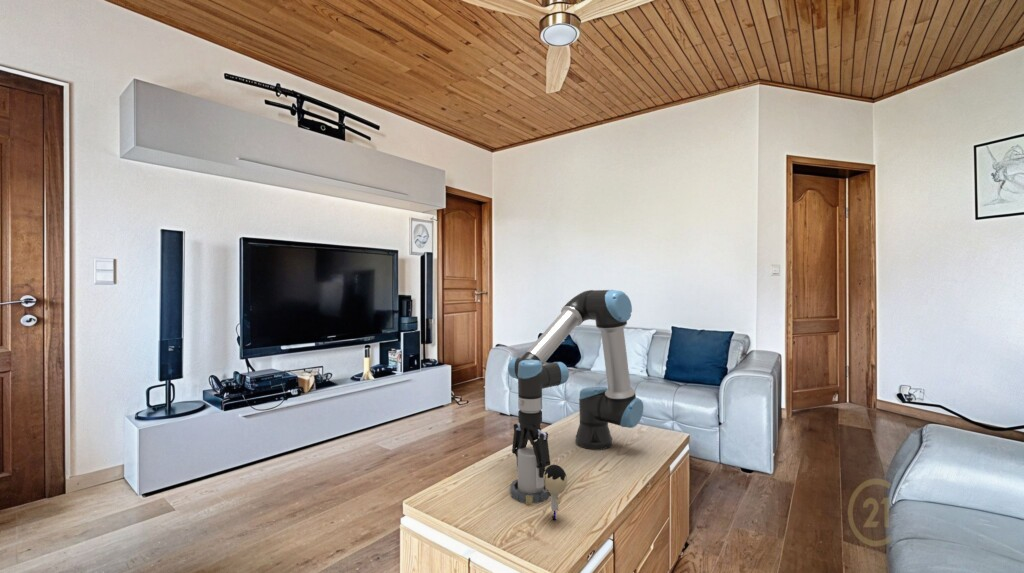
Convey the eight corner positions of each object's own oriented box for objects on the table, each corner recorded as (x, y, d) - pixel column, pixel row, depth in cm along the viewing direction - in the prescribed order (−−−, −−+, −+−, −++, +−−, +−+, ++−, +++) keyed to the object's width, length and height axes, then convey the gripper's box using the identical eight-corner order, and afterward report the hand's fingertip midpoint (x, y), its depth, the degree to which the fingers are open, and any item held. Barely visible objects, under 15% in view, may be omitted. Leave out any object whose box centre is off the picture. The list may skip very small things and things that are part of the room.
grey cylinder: (545, 484, 140) (545, 447, 140) (541, 496, 132) (541, 457, 132) (520, 482, 142) (520, 445, 142) (515, 494, 134) (515, 455, 134)
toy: (541, 512, 126) (541, 460, 126) (563, 510, 126) (563, 459, 126) (546, 528, 117) (545, 472, 117) (570, 527, 118) (569, 471, 118)
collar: (531, 481, 146) (531, 474, 146) (558, 494, 136) (558, 486, 136) (502, 492, 138) (502, 484, 138) (528, 507, 128) (528, 499, 128)
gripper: (500, 405, 143) (500, 474, 143) (544, 419, 127) (544, 498, 127) (517, 401, 148) (518, 468, 147) (562, 415, 131) (562, 490, 131)
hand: (530, 482), depth 137 cm, fingers closed on grey cylinder, 8 cm apart
